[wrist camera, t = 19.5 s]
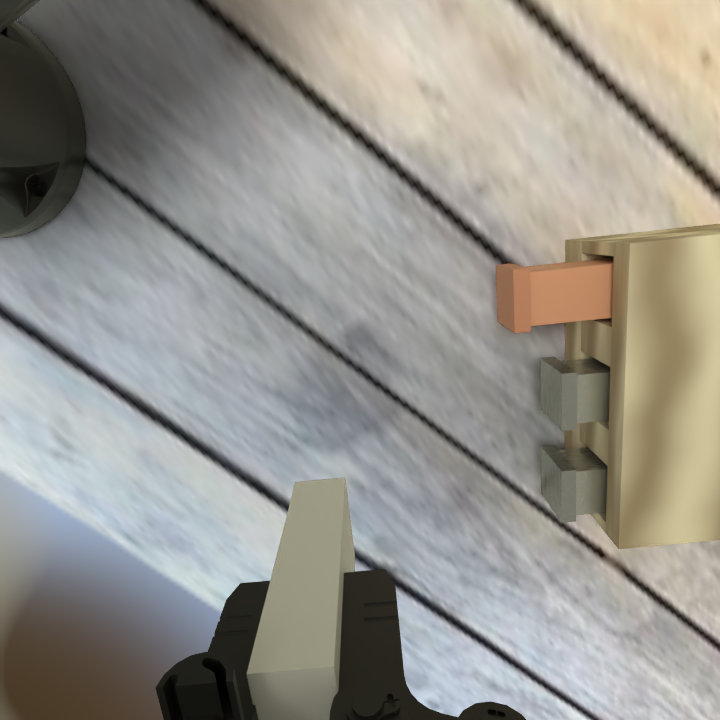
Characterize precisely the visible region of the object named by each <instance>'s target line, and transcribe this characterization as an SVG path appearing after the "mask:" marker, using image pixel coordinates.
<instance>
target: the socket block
mask: <svg viewBox="0 0 720 720" xmlns="http://www.w3.org/2000/svg"><path fill="white" fill-rule="evenodd" d="M605 258H614V265H613V299H612V318H605V319H595V320H585V321H575V322H566V323H565V361H569V360H579V359H589V358H595V359H597V360H599V361H600V362H602V363H604V364H606V365H608V366H609V367H611V368H610V402H609V420H608V421H597V422H587V423H577V430H566V431H565V450H566V449H577V448H589V449H590V450H591V451H592V452H594V453H595V454H596V455H597V456H598V457H599V458H600V459H601V460H602V461H603V462H604V463H605V464H606V465H607V466H608V471H607V506H606V512H604V513H593V514H591V515H592V517H593V518H594V519H595V520H596V521H597V523H598V524H599V525H600V526H601V528H602V529H603V530H604V531H605V533H606V534H607V535H608V536H609V538H610V539H611V540H612V541H613V543H614V544H615V545H616V546H617V547H618V549H624V548H635V547H646V546H657V545H669V544H680V543H691V542H703V541H714V540H720V224H714V225H704V226H695V227H685V228H676V229H666V230H657V231H647V232H638V233H628V234H619V235H609V236H600V237H590V238H581V239H571V240H566V263H567V262H577V261H586V260H596V259H605Z"/></svg>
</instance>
